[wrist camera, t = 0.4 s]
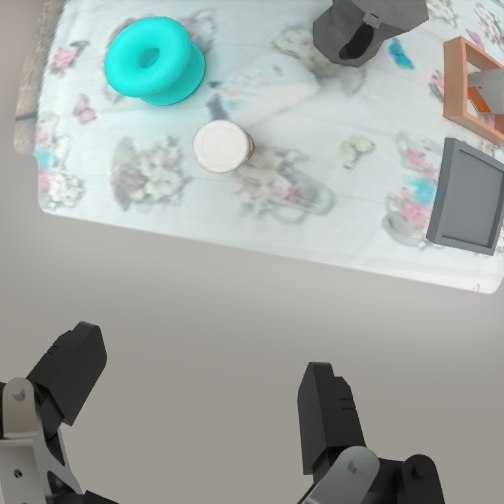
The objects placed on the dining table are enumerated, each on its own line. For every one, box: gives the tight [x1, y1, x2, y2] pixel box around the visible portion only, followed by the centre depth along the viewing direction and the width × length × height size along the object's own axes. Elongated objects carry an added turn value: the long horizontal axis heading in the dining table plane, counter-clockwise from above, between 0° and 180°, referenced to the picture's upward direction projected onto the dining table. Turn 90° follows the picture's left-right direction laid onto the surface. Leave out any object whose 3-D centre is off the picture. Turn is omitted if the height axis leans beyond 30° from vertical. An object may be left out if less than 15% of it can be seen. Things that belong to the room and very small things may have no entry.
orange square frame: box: [443, 36, 504, 146], centre depth 24 cm, size 14×14×5 cm
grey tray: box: [426, 138, 504, 256], centre depth 32 cm, size 16×16×2 cm
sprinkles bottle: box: [193, 120, 254, 173], centre depth 27 cm, size 5×5×14 cm
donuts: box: [105, 17, 205, 105], centre depth 25 cm, size 10×10×10 cm
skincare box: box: [467, 68, 504, 114], centre depth 21 cm, size 6×4×12 cm
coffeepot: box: [313, 0, 429, 67], centre depth 19 cm, size 15×9×18 cm, turn 156°
